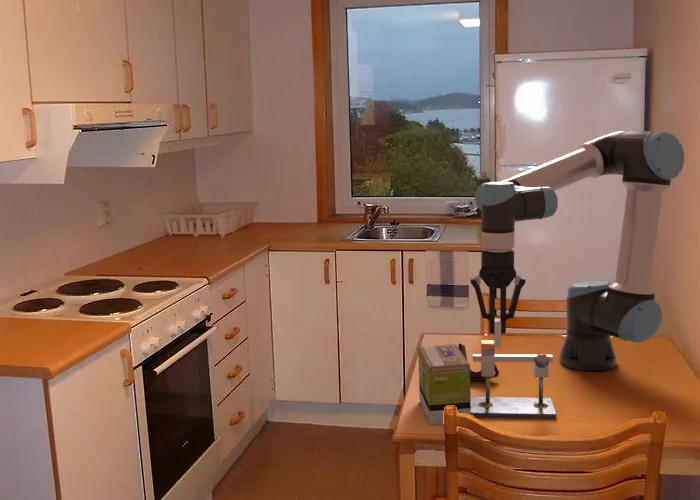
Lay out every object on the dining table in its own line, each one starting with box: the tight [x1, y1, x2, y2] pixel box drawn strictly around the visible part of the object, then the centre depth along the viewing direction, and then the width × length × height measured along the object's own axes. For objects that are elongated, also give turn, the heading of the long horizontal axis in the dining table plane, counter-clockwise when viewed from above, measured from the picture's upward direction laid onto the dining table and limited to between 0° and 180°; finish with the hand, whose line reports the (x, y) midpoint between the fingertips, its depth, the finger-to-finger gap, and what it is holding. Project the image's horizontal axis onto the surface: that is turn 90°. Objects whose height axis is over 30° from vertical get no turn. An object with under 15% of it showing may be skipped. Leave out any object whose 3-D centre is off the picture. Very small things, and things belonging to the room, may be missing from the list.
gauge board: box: [471, 396, 557, 420], centre depth 186 cm, size 20×10×1 cm, turn 83°
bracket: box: [457, 342, 500, 381], centre depth 208 cm, size 6×17×10 cm, turn 76°
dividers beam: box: [472, 353, 554, 404], centre depth 185 cm, size 18×3×13 cm, turn 83°
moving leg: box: [480, 339, 496, 403], centre depth 185 cm, size 3×3×15 cm
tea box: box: [417, 343, 472, 426], centre depth 185 cm, size 15×10×15 cm, turn 5°
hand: (497, 346), depth 184 cm, fingers closed
